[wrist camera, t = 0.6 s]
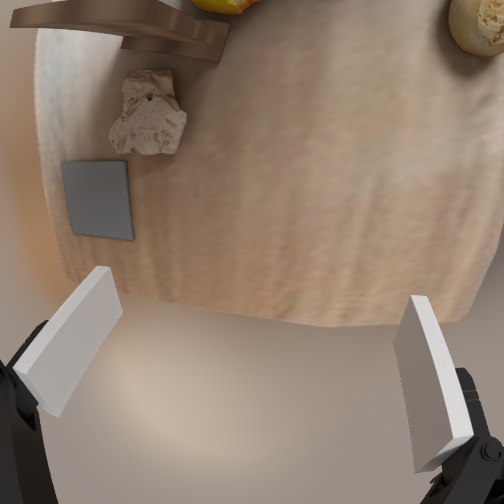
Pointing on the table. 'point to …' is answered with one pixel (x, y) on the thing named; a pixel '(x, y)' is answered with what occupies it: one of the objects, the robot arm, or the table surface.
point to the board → (132, 25)
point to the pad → (98, 198)
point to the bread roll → (478, 26)
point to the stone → (148, 115)
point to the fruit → (224, 6)
